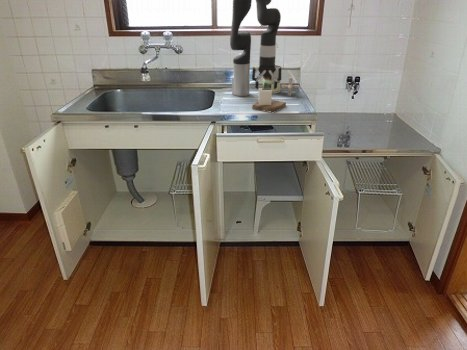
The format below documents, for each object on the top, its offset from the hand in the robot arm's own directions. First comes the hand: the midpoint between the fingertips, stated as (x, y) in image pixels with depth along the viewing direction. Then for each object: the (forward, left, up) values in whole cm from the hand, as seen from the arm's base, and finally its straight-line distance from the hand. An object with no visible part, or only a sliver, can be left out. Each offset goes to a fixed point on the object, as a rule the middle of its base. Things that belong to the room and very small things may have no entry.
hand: (266, 88), depth 172 cm
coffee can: (-13, +28, -9) cm, 33 cm away
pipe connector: (0, +26, -9) cm, 28 cm away
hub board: (+2, 0, -9) cm, 9 cm away
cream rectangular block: (0, -1, -7) cm, 7 cm away
